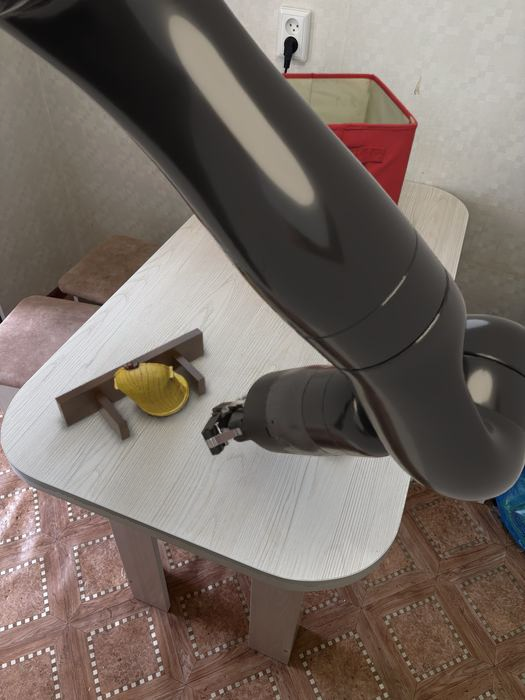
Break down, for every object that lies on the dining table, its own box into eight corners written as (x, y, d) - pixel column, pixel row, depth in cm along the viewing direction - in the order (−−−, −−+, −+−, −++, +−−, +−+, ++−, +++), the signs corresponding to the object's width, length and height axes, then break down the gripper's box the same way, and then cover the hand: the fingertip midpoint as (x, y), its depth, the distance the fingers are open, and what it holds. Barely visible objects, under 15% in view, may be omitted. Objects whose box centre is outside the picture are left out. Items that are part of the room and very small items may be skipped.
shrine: (171, 448, 70) (161, 374, 60) (117, 436, 71) (97, 362, 61) (197, 389, 79) (192, 315, 68) (147, 379, 80) (135, 304, 69)
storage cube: (391, 267, 105) (428, 124, 85) (260, 273, 102) (267, 126, 82) (350, 195, 128) (372, 69, 108) (243, 198, 125) (245, 68, 105)
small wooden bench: (90, 459, 69) (83, 437, 65) (63, 420, 73) (54, 398, 70) (230, 378, 80) (230, 356, 77) (198, 349, 85) (197, 327, 81)
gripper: (340, 339, 46) (250, 360, 61) (225, 409, 39) (155, 413, 54) (373, 411, 47) (276, 414, 62) (266, 492, 40) (186, 473, 55)
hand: (219, 414), depth 58 cm, fingers closed
